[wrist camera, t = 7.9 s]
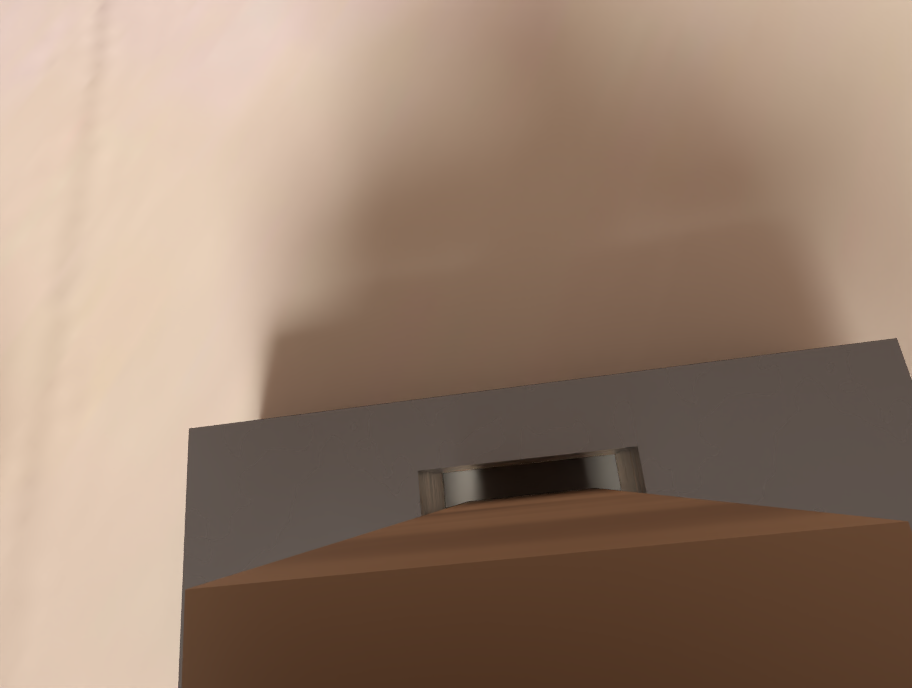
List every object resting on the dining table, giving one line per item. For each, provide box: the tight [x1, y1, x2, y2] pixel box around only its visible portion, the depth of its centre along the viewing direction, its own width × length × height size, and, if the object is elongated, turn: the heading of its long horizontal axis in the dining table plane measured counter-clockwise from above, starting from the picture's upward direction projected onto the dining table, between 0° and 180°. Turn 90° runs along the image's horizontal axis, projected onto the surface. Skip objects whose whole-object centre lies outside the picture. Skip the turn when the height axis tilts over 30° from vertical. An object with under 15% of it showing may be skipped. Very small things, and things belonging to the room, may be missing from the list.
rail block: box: [178, 338, 912, 688], centre depth 15 cm, size 10×20×4 cm, turn 96°
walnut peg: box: [182, 488, 912, 688], centre depth 9 cm, size 4×4×14 cm
